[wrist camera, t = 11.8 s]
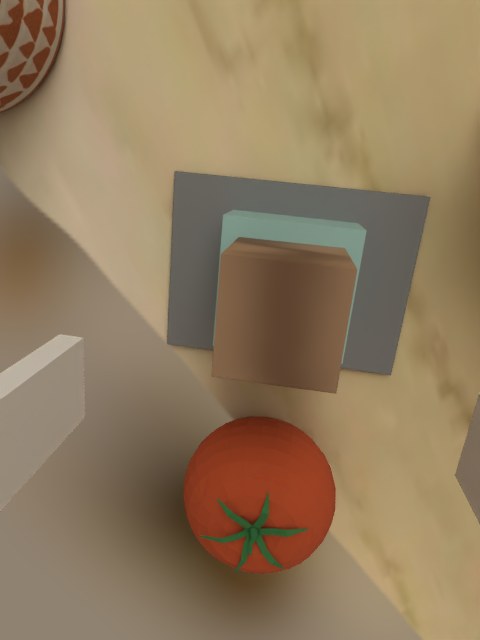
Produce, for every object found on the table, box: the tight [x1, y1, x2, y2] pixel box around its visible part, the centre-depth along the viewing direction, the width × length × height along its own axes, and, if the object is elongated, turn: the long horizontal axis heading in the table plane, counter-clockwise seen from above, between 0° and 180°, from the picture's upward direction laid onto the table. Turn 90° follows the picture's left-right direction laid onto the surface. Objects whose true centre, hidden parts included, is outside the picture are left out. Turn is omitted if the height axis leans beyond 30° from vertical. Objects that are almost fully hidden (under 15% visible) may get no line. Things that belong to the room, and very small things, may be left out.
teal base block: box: [213, 210, 367, 364], centre depth 28 cm, size 8×8×4 cm
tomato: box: [183, 417, 335, 574], centre depth 30 cm, size 10×10×10 cm
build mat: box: [167, 171, 430, 375], centre depth 30 cm, size 16×12×1 cm
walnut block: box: [212, 237, 358, 394], centre depth 23 cm, size 6×6×6 cm
